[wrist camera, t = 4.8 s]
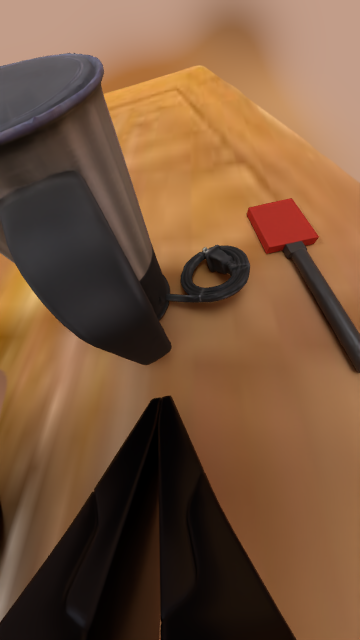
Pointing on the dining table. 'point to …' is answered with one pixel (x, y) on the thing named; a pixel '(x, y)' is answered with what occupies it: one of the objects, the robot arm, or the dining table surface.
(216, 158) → the dining table surface
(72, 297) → the milk frother
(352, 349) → the spatula
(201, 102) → the dining table surface
